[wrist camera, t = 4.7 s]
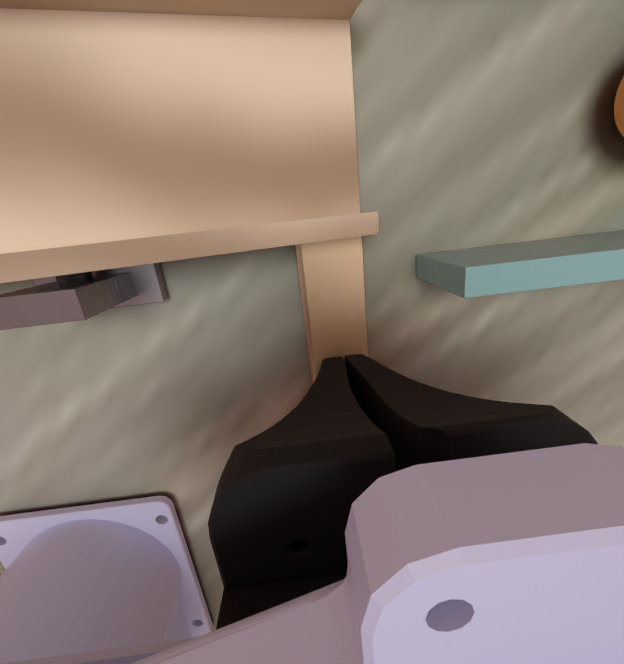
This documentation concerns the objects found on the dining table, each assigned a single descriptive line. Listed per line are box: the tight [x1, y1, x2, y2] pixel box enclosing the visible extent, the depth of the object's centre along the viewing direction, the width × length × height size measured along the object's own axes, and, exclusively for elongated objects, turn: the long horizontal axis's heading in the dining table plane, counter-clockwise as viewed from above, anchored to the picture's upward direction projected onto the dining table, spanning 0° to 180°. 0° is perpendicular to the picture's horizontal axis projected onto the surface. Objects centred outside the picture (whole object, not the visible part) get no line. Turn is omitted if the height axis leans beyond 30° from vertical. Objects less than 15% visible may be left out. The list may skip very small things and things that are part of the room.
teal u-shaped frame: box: [416, 230, 624, 298], centre depth 9 cm, size 10×10×4 cm
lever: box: [0, 0, 379, 385], centre depth 8 cm, size 14×18×3 cm
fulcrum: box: [0, 263, 169, 330], centre depth 8 cm, size 9×4×3 cm, turn 6°
